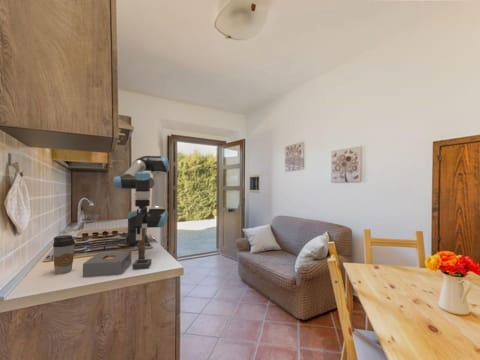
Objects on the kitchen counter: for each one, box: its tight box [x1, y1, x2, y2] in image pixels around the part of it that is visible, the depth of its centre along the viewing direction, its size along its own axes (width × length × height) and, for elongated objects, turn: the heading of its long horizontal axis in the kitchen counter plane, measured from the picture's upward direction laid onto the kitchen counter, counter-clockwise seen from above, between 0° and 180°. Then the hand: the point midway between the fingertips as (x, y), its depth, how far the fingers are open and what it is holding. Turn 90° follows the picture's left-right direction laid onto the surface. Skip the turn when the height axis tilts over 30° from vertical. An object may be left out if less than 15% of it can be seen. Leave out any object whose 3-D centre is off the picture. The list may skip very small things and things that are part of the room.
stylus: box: [137, 228, 146, 260], centre depth 123 cm, size 3×3×17 cm
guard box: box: [82, 251, 132, 278], centre depth 107 cm, size 16×16×6 cm
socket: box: [131, 258, 152, 271], centre depth 111 cm, size 7×7×2 cm
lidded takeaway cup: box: [52, 234, 73, 261], centre depth 124 cm, size 9×8×12 cm
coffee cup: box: [52, 237, 76, 275], centre depth 104 cm, size 8×8×15 cm
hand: (141, 237), depth 123 cm, fingers open, 13 cm apart
